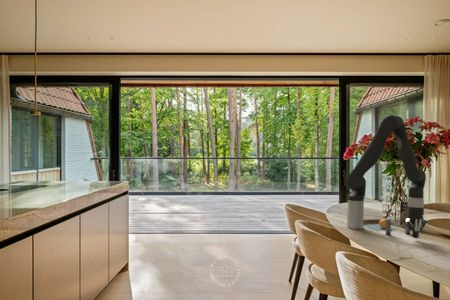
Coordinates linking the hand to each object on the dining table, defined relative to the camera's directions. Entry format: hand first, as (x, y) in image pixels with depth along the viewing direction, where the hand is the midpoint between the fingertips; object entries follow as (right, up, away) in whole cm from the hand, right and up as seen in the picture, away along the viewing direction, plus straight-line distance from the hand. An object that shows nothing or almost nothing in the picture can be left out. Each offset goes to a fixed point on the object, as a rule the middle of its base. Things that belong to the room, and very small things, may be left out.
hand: (415, 237), depth 176 cm
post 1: (-9, -1, +11) cm, 15 cm away
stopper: (-8, -1, +40) cm, 41 cm away
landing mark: (-6, -1, +29) cm, 30 cm away
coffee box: (+13, -2, +29) cm, 32 cm away
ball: (-4, +2, +26) cm, 26 cm away
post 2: (+4, -2, +14) cm, 15 cm away
